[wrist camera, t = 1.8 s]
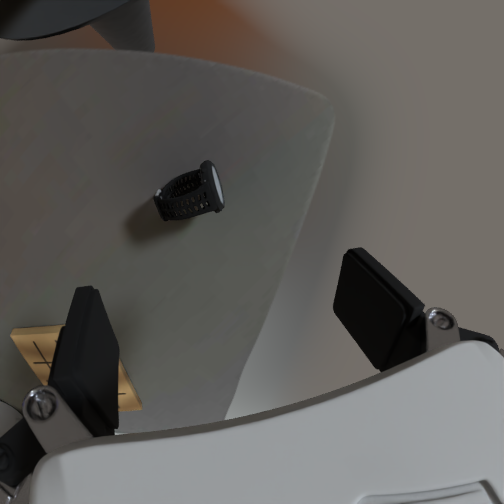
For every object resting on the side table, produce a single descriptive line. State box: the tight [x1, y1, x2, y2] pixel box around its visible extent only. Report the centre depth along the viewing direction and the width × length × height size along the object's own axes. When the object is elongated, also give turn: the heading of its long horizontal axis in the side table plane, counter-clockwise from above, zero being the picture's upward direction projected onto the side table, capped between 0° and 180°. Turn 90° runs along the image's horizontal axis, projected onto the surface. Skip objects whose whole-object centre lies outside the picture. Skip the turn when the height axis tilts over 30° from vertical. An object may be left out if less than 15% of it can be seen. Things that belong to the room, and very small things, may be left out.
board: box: [10, 325, 142, 411], centre depth 28 cm, size 16×12×1 cm
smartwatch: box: [153, 160, 225, 221], centre depth 20 cm, size 4×5×5 cm
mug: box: [0, 401, 23, 437], centre depth 25 cm, size 12×8×11 cm
